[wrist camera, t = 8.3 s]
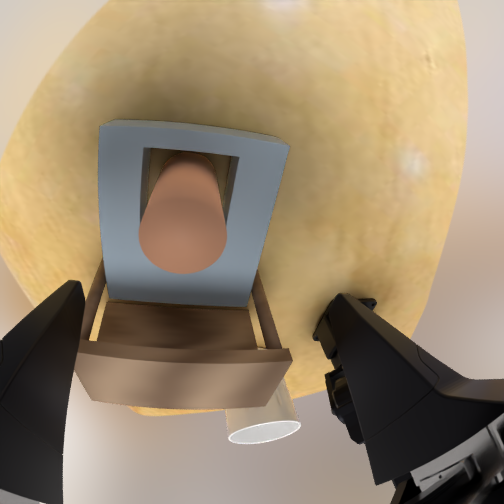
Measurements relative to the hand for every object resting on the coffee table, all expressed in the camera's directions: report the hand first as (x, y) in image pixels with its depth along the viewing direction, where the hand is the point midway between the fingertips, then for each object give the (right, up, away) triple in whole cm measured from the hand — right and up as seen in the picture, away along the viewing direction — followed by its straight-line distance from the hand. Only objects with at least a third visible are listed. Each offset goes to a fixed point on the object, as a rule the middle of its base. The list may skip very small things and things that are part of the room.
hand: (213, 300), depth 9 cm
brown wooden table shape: (-5, -2, +15) cm, 16 cm away
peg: (-3, +7, +10) cm, 12 cm away
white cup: (+1, -12, +24) cm, 27 cm away
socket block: (-4, +5, +11) cm, 12 cm away
